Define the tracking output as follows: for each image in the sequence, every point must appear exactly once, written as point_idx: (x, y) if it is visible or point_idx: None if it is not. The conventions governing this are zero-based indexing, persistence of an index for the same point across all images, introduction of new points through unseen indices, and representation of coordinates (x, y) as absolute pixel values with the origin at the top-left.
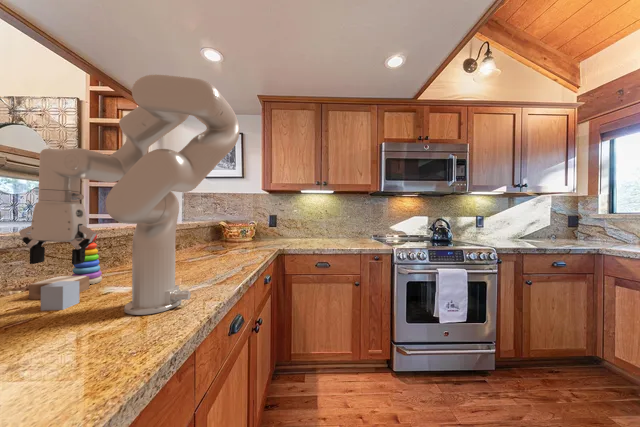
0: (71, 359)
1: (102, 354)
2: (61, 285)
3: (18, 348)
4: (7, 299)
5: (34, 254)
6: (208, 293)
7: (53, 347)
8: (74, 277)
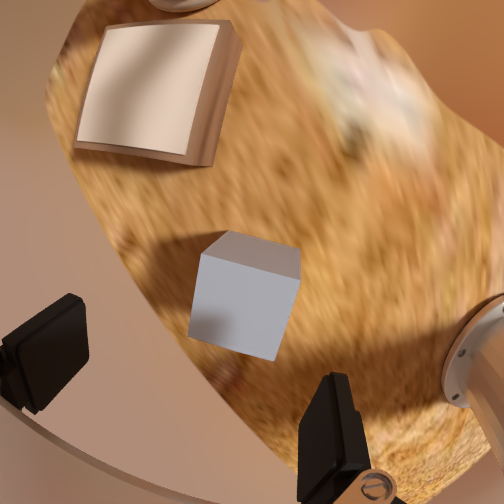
0: None
1: (404, 483)
2: (260, 345)
3: None
4: (60, 138)
5: (59, 386)
6: None
7: None
8: (177, 49)
